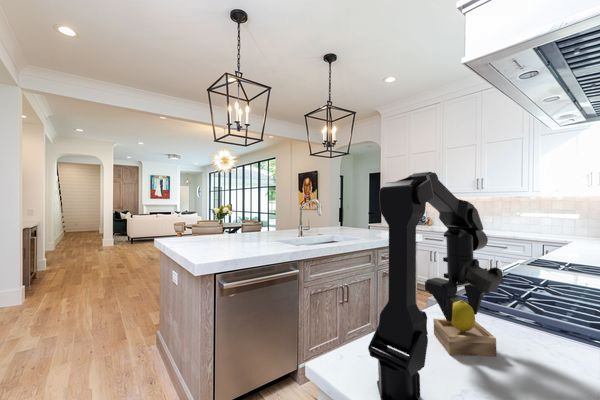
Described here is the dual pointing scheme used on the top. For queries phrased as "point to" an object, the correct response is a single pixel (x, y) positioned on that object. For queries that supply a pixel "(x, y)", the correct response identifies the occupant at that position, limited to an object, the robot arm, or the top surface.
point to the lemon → (463, 316)
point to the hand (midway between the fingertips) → (461, 317)
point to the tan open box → (465, 339)
